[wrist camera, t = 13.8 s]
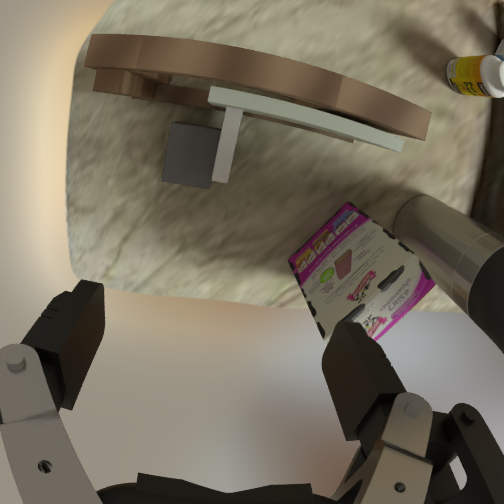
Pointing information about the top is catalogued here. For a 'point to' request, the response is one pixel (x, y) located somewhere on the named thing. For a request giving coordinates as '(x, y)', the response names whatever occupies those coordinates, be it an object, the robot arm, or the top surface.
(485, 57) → the supplement bottle
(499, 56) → the medicine box
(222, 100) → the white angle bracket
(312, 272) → the candy bar box
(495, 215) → the top surface
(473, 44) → the top surface
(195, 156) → the block
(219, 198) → the top surface
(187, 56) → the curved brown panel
